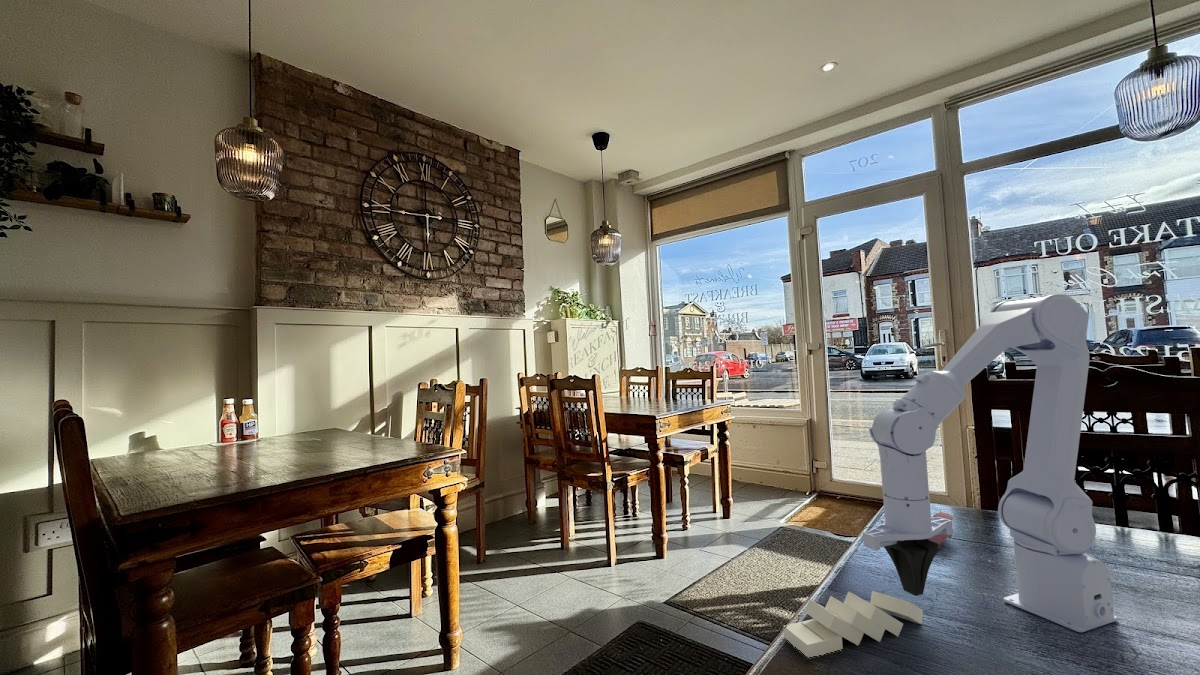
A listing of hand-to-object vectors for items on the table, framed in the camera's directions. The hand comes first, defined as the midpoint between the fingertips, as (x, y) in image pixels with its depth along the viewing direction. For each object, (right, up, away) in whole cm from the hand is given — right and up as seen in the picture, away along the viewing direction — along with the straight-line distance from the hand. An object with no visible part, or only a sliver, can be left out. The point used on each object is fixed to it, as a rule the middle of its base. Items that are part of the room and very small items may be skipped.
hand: (913, 592), depth 71 cm
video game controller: (+20, -4, +25) cm, 33 cm away
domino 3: (-8, -3, -3) cm, 9 cm away
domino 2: (-11, -3, -4) cm, 12 cm away
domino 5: (-1, -3, 0) cm, 3 cm away
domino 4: (-5, -3, -2) cm, 6 cm away
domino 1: (-14, -3, -5) cm, 15 cm away
